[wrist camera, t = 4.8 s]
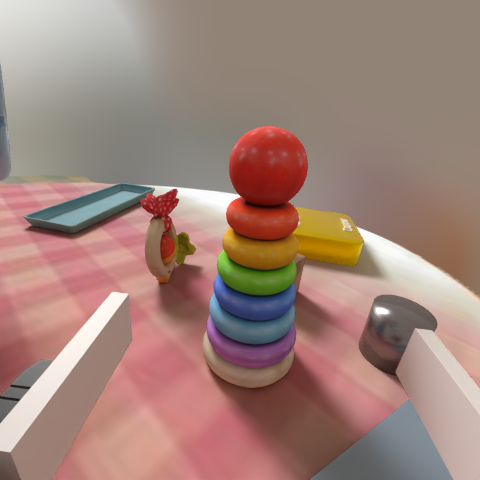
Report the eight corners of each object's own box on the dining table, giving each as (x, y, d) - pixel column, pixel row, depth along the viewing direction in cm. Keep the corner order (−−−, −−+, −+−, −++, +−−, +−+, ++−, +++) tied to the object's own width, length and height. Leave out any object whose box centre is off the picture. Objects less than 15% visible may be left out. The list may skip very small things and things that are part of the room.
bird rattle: (189, 297, 35) (198, 243, 41) (183, 237, 27) (195, 181, 33) (138, 294, 34) (155, 240, 41) (117, 232, 26) (142, 176, 32)
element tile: (359, 269, 42) (368, 241, 41) (262, 253, 44) (266, 225, 43) (344, 234, 56) (350, 212, 54) (270, 223, 58) (274, 200, 56)
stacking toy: (239, 312, 30) (261, 124, 22) (307, 351, 26) (363, 136, 18) (182, 354, 24) (187, 117, 16) (258, 414, 20) (313, 132, 12)
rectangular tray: (74, 238, 43) (72, 223, 42) (23, 228, 44) (20, 214, 43) (156, 198, 66) (156, 188, 65) (121, 192, 68) (120, 182, 67)
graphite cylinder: (396, 385, 23) (418, 339, 21) (347, 344, 27) (362, 302, 25) (426, 363, 26) (448, 320, 24) (378, 329, 29) (393, 290, 27)
